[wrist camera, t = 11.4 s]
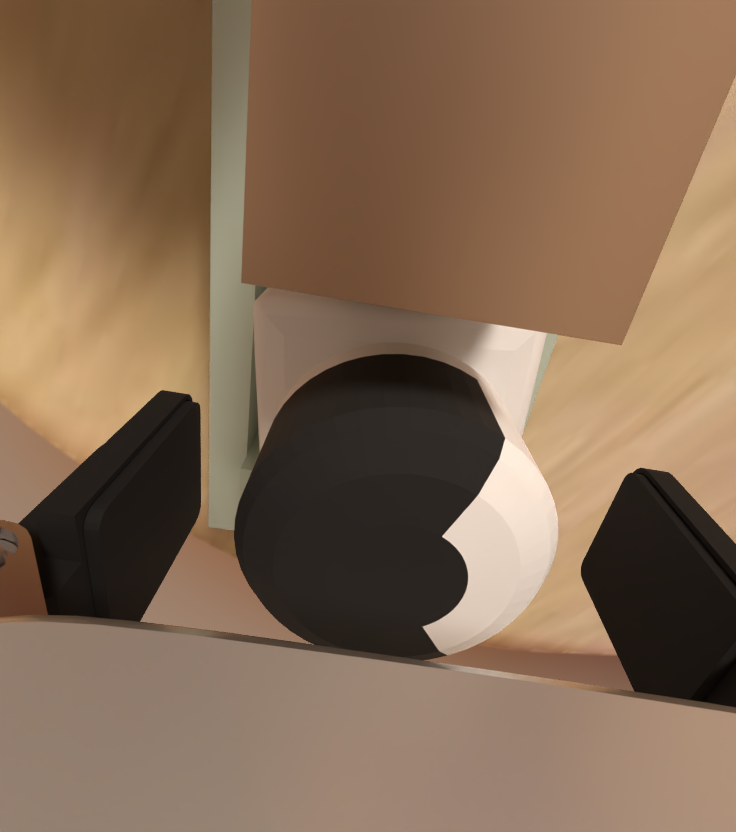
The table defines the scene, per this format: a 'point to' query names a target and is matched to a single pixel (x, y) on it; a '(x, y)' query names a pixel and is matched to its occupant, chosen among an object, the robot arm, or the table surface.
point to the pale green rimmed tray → (239, 274)
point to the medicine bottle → (392, 476)
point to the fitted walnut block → (478, 151)
